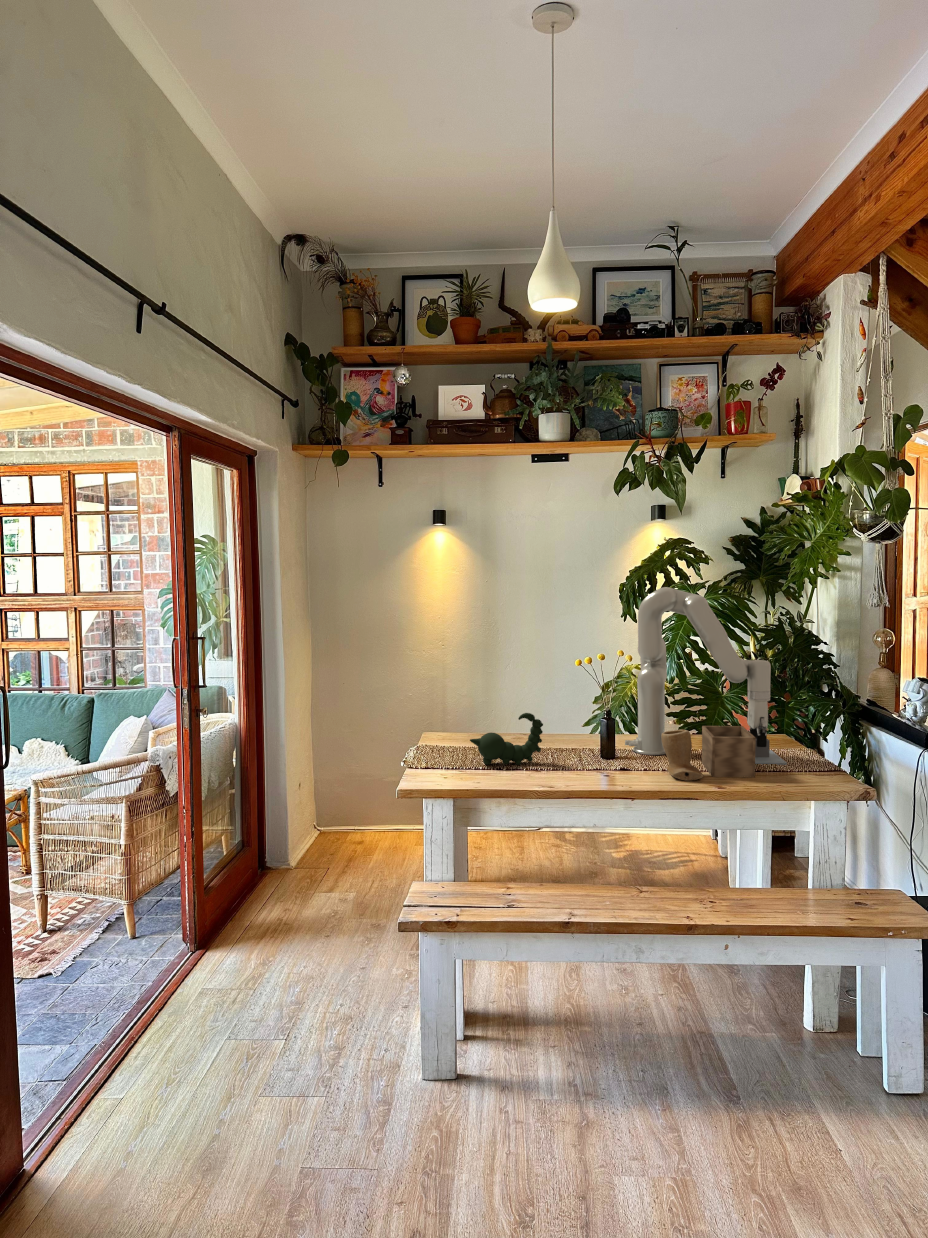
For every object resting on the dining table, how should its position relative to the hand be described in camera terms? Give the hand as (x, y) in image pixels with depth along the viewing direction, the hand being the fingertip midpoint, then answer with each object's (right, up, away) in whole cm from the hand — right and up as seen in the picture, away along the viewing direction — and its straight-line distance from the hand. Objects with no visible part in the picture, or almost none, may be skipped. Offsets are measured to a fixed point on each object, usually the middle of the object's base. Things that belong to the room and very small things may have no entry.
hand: (757, 743), depth 299 cm
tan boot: (-33, -8, -22) cm, 40 cm away
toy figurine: (-89, -7, -3) cm, 89 cm away
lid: (0, -6, 0) cm, 6 cm away
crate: (-15, -7, -15) cm, 23 cm away
